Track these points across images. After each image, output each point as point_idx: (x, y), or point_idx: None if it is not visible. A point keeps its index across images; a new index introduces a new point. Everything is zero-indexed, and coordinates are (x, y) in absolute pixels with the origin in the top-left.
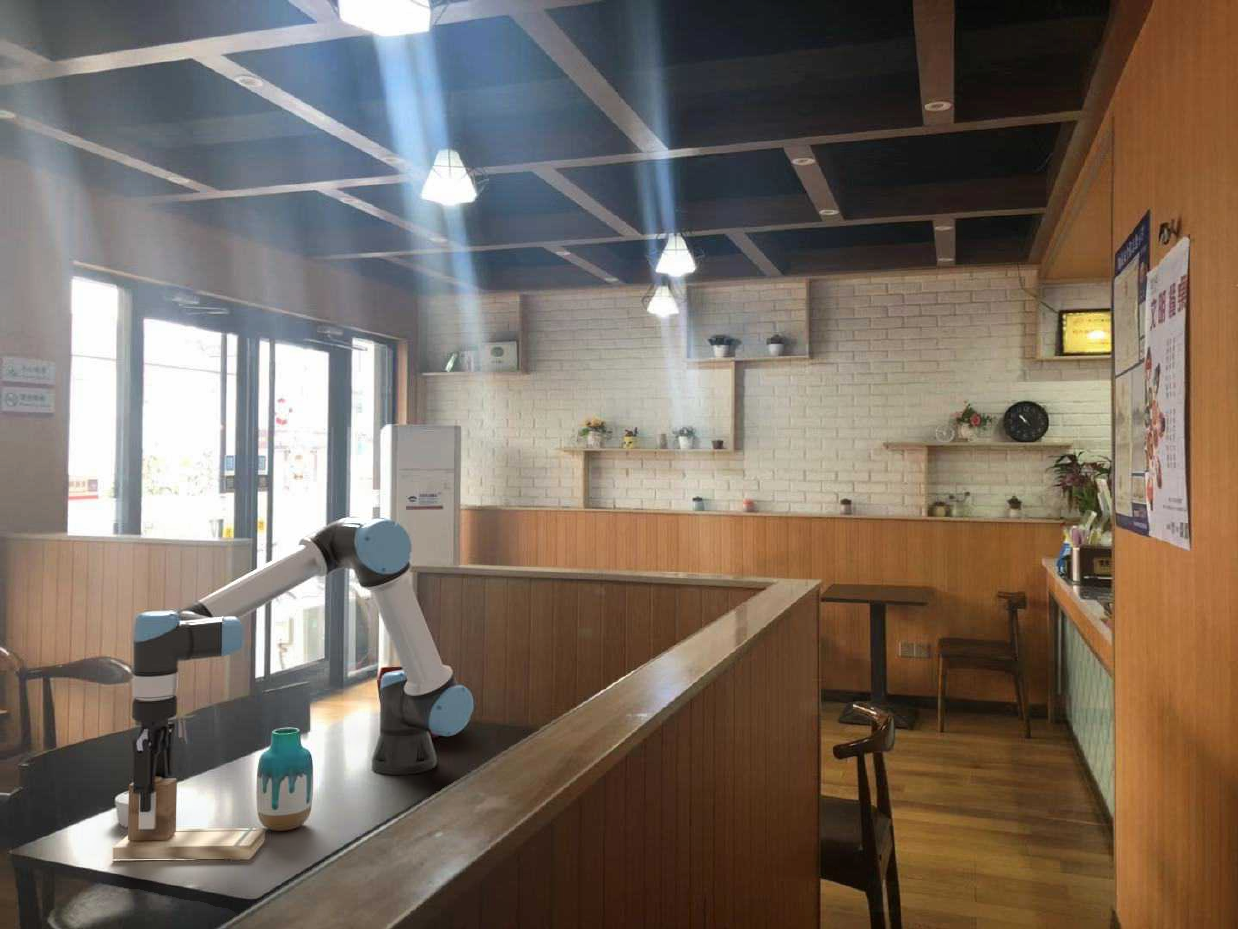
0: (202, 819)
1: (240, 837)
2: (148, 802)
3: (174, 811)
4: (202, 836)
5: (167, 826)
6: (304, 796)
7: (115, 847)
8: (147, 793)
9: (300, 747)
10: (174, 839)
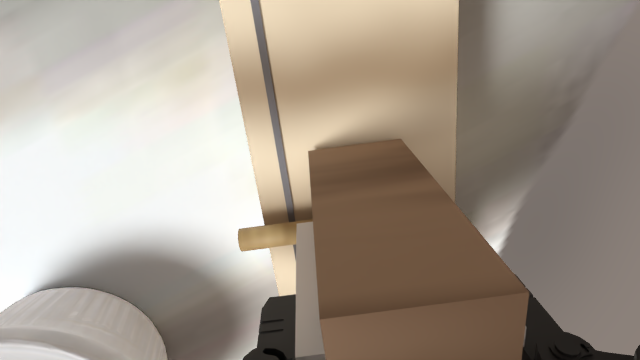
0: (3, 181)
1: None
2: (533, 303)
3: (337, 187)
4: (330, 9)
5: (416, 159)
6: None
7: None
8: (597, 352)
9: None
10: (374, 120)
